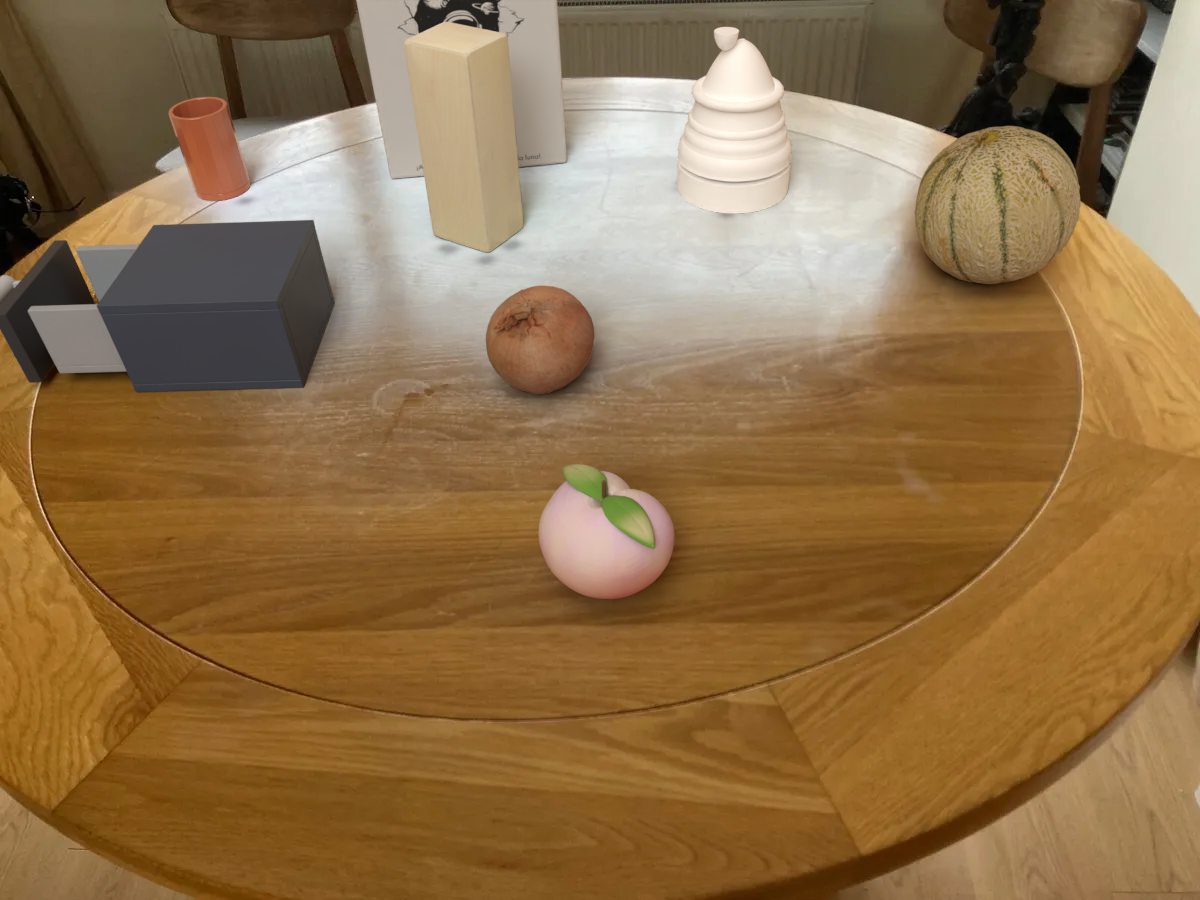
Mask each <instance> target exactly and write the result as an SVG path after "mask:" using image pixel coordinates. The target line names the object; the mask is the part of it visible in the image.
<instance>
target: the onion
mask: <svg viewBox="0 0 1200 900" xmlns="http://www.w3.org/2000/svg"><path fill="white" fill-rule="evenodd" d="M486 327H487V328H486V331H485V347H486V348H485V349H486V355H487V358H488V361H489V364H491V366H492V368H493V369H494V371H495V372H496V374H497V375H498V376H499V377H500V378H501V379H502V380H503V381H504V382H505V383H507V384H508V385H509V386H511V387H513V388H514V389H517V390H518V391H523V392H525V393H529V394H533V395H548V394H552V393H553V392H555V391H557V390H559V389H563V388H564V387H565V386H567V385H569V384H570V383H572V382H573V381H574V380H575V379H577V377H579V376H580V375H581V374H582V372H583V371H584V369H585V368H586V366H587V365H588V363H589V361H590V359H591V356H592V353H593V350H594V346H595V345H594V344H595V326H594V322H593V320H592V316H591V315H590V313H589V310H587V308H586V307H585V306H584V305H583V303H582V302H581V301H580V300H579V299H578V298H577V297H576V296H575V295H574V294H572V293H571V292H569V291H568V290H566V289H563V288H560V287H558V286H557V287H556V286H552V285H534V286H529V287H526V288H523V289H520V290H519V291H517V292H516V293H513V294H512V295H510V296H508V297H507V298H506V299H505V300H504V301H503V302H502V303H501V304H500V305H499V306H497V308H496V309H495V310H494V312H493V313H492V315H491V317H490V319H489V322H488V324H487V326H486Z"/></svg>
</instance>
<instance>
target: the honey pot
mask: <svg viewBox="0 0 1200 900" xmlns="http://www.w3.org/2000/svg"><path fill="white" fill-rule="evenodd" d="M739 34H740V30H739V29H738V28H737V27H733V26H721V27H717V28H715V29H714V30H713V38H714V42H715V44H716V46H717V47H718V48H719V49H720V50H721V51H720V52H719V54H717V56H716V58H715V59H714V60H713V62H712V64H711V65H710V67H709V69H708V71H707V73H706V75H704V76H702V77H700V78H699V79H697V80H696V81H695V82H694V84H692V86H691V95H692V98H693V99H694V103H693V106H692V108H691V109H690V111H689V112H688V115H687V121H686V123H685V126H684V130H683V134H681V136H680V138H679V140H678V141H679V142H678V147H677V151H678V152H677V153H678V155H677V178H676V181H677V182H676V189H677V192H678V194H679V197H681V198H682V199H683V201H685V202H686V203H688V204H690V205H692V206H694V207H696V208H698V209H702V210H704V211H708V212H712V213H713V212H714V213H720V214H732V215H733V214H737V215H738V214H740V215H741V214H748V213H750V214H751V213H755V212H759V211H763V210H767V209H769V208H771V207H773V206H777V205H778V204H779V203H780V202H781V201H783V200H785V197H786V195H788V191H789V182H790V171H791V161H792V149H793V148H792V140H791V138H790V137H789V134H788V125H787V124H786V114H785V112H784V110H783V108H782V105H781V101H782V99H783V97H784V95H785V87H784V85H783V84H782V82H781V81H780V80H779V79H777V78H775V77H774V76H772V73H771V70H770V68H769V66H768V64H767V62H766V60H765V58H764V56H763V55H762V53H761V51H760V50H759V49H758V48H757V47H756V45H755V44H754V43H753V42H751V41H749V40H747V39H746V38H739Z"/></svg>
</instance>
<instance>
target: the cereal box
mask: <svg viewBox="0 0 1200 900" xmlns="http://www.w3.org/2000/svg"><path fill="white" fill-rule="evenodd" d="M355 2H356V6H357V11H358V17H359V22H360V27H361V32H362V37H363V43H364V48H365V54H366V58H367V63H368V69H369V73H370V74H369V75H370V79H371V84H372V88H373V94H374V99H375V104H376V109H377V115H378V120H379V125H380V130H381V135H382V140H383V145H384V150H385V155H386V161H387V166H388V171H389V177H390V179H392V180H393V179H394V180H395V179H403V178H404V179H407V178H416V177H417V178H419V177H424V171H423V165H422V158H421V152H420V145H419V139H418V132H417V126H416V119H415V113H414V106H413V100H412V94H411V87H410V81H409V74H408V68H407V61H406V55H405V48H404V42H405V40H407V39H409V38H411V37H413V36H415V35H417V34H419V33H421V32H424V31H426V30H428V29H430V28H432V27H434V26H436V25H438V24H441V23H443V22H452V23H456V24H461V25H466V26H471V27H476V28H481V29H486V30H490V31H495V32H500V33H504V34H506V35H507V39H508V48H509V60H510V72H511V84H512V97H513V110H514V121H515V133H516V145H517V156H518V167H519V168H523V167H533V166H545V165H556V164H565V163H566V162H567V161H568V154H567V153H568V152H567V139H566V138H567V137H566V135H567V134H566V123H565V122H566V121H565V104H564V90H563V73H562V71H563V70H562V58H561V57H562V56H561V41H560V40H561V39H560V24H559V8H558V0H355Z"/></svg>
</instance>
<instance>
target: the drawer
mask: <svg viewBox="0 0 1200 900" xmlns="http://www.w3.org/2000/svg"><path fill="white" fill-rule="evenodd" d="M139 245H140V243H133V244H132V243H131V244H103V245H78V246H77V248H76V249H75V252H76V254H77V256H78V259H79V261H80V263H81V266H82V267H83V270H84V272H85V274H86V276H87V279H88V281H89V284H90V285H91V287H92V289H93V292H94V294H95V296H96V299H97V300H98V303H99V302H100V300H101V299H102V297H103V296H104V294H105V293H106V292H107V290H108V289H109V287H110V286H111V285H112V283H113V282H114V280H115V279H116V277H117V276H118V275H119V273H120V272H121V270H122V269H123V268H124V266H125V265H126V263H127V262H128V260H129V259H130V258H131V256H132V255H133V253H134V252H135V251H136V249H137V248H138V246H139ZM98 303H96V302H95V300H94V298H93V295H92V293H91V291H90V289H89V286H88V285H87V282H86V280H85V277H84V275H83V273H82V271H81V269H80V267H79V265H78V263H77V260H76V258H75V255H74V254H73V251H72V250H71V247H70V244H69V243H68V240H66V239H60V240H59V239H58V240H54V241H53V242H52V243H51V244H50V245H49V246H48V248H47V249H46V250H45V251H44V252H43V253H42V255H41V256H40V257H39V258H38V259H37V260H36V261H35V263H34V264H33V265H32V267H31V268H30V269H29V270H28V271H27V273H26V274H25V275H24V276H23V277H22V278H21V280H16V279H15V278H14V277H12V276H10V275H8V274H3V275H0V332H1V334H2V335H3V337H4V339H5V341H6V343H7V344H8V347H9V348H10V350H11V352H12V354H13V356H14V358H15V359H16V361H17V363H18V365H19V367H20V368H21V370H22V372H23V374H24V376H25V378H26V379H27V381H28V383H30V384H32V383H43V381H44V380H45V379H46V377H47V376H48V375H49V373H50V372H51V371H52V369H53V367H56V369H57V371H58V373H59V374H87V373H88V374H92V373H124V372H125V373H127V371H126V369H125V367H124V365H123V362H122V360H121V358H120V356H119V354H118V351H117V349H116V347H115V345H114V343H113V340H112V338H111V336H110V334H109V332H108V330H107V327H106V325H105V323H104V321H103V319H102V316H101V314H100V313H99V310H98V308H97V304H98Z"/></svg>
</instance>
